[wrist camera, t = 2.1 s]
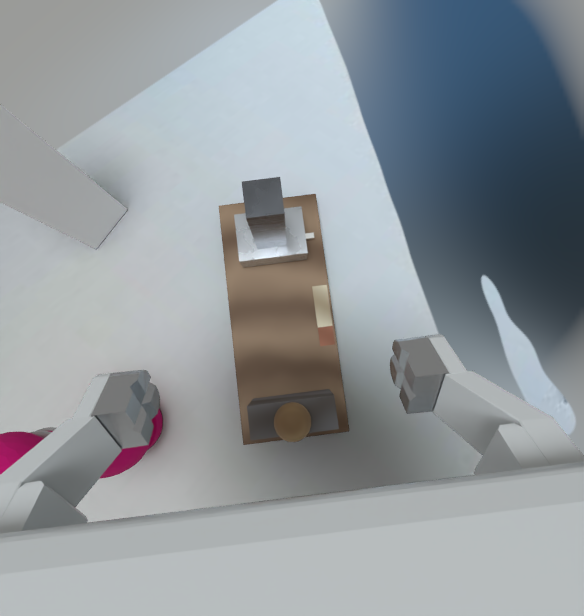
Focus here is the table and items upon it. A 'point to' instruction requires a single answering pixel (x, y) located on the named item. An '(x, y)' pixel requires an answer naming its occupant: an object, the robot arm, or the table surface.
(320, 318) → the base
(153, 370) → the table surface
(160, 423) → the pepper mill
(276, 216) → the handle
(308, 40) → the table surface
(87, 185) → the milk
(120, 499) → the table surface
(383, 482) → the table surface
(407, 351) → the robot arm
